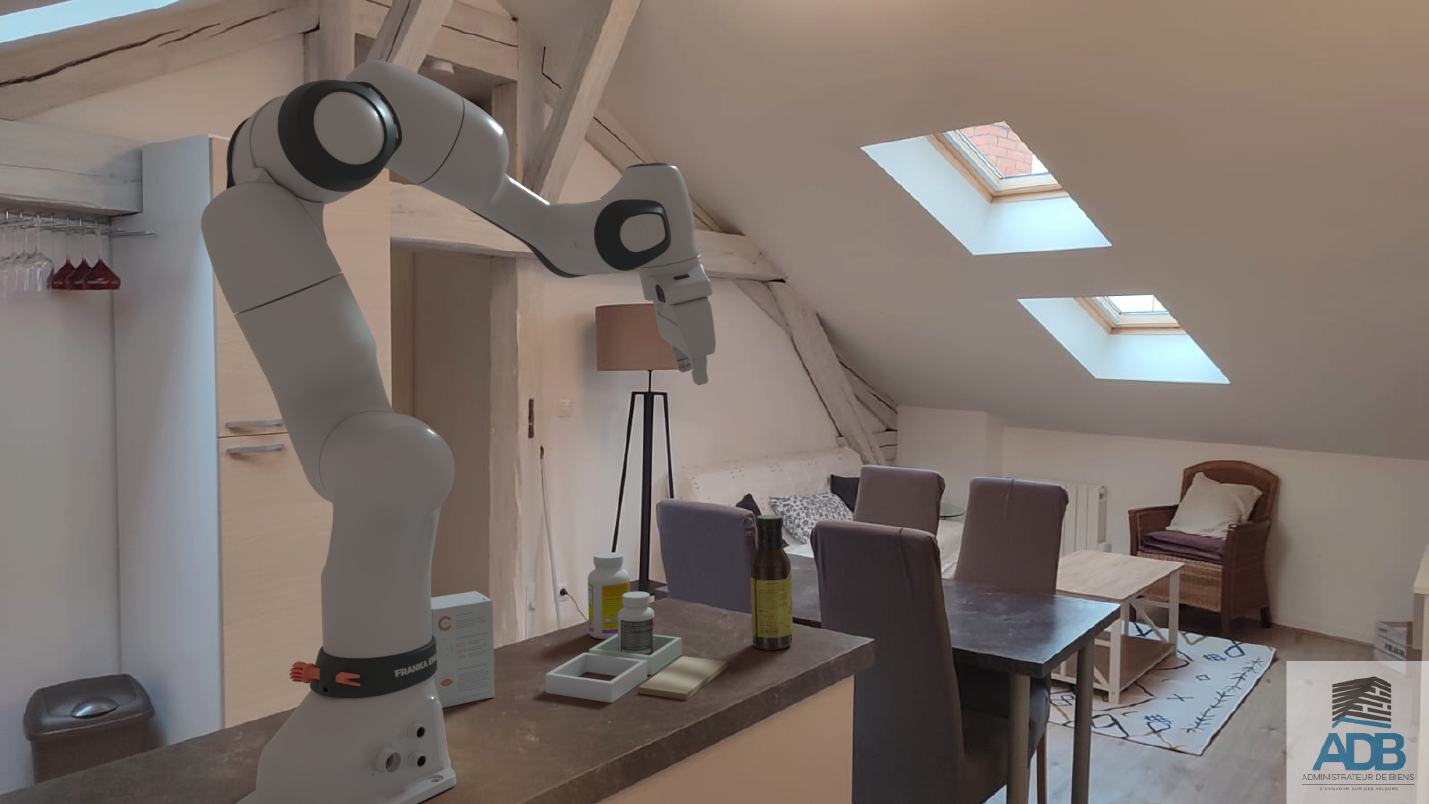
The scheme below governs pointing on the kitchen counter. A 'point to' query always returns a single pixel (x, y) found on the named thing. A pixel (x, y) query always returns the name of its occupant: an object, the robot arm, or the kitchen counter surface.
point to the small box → (463, 647)
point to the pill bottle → (636, 624)
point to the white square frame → (607, 691)
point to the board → (683, 677)
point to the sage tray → (663, 655)
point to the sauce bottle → (771, 587)
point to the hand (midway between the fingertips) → (692, 377)
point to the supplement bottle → (606, 594)
